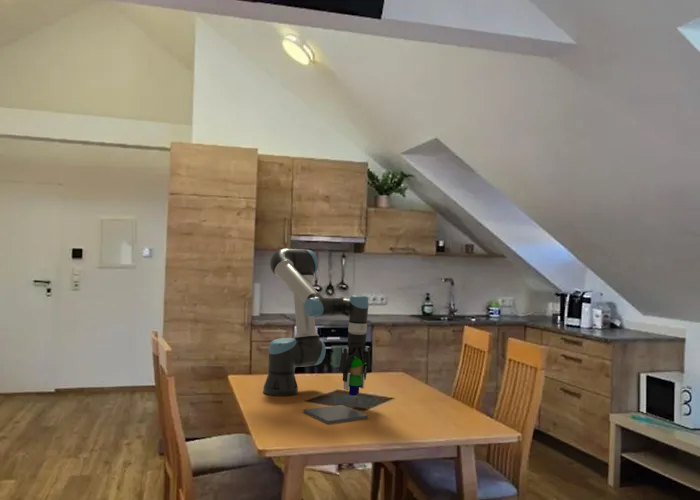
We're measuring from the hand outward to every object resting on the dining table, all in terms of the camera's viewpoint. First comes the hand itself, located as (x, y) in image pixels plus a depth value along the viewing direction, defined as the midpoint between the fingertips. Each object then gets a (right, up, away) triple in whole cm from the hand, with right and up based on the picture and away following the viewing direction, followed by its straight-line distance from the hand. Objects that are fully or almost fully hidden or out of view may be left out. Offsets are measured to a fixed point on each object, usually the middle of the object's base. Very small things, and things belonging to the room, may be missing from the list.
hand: (353, 388), depth 249 cm
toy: (0, -2, 0) cm, 2 cm away
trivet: (-7, -7, -16) cm, 19 cm away
